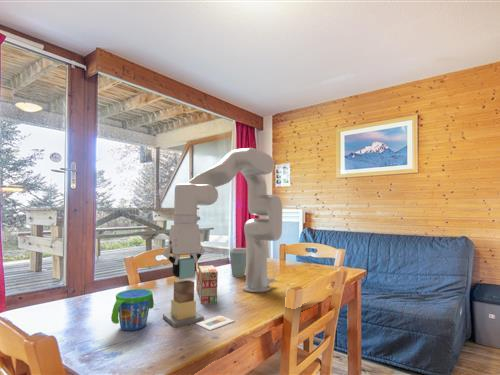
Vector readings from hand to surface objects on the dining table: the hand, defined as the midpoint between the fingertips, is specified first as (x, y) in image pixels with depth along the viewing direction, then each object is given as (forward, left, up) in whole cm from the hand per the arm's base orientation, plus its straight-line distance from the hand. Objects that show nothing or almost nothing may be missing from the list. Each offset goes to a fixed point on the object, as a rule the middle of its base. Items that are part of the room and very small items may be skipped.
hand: (184, 274), depth 101 cm
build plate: (0, 0, -14) cm, 14 cm away
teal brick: (0, 0, -1) cm, 1 cm away
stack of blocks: (-18, -19, -15) cm, 30 cm away
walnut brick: (0, 0, -8) cm, 8 cm away
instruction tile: (-7, +9, -14) cm, 18 cm away
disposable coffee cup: (-50, -41, -15) cm, 66 cm away
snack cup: (+15, -3, -15) cm, 21 cm away
